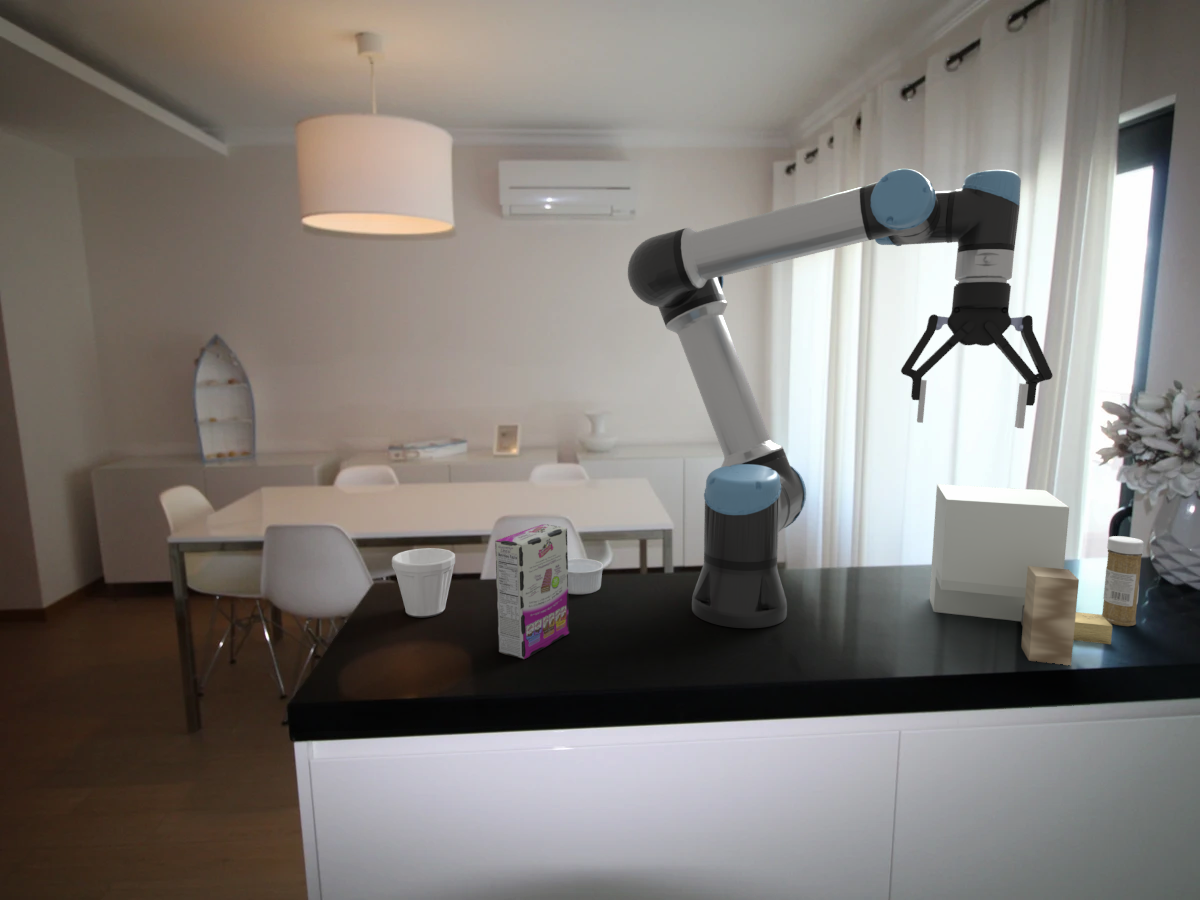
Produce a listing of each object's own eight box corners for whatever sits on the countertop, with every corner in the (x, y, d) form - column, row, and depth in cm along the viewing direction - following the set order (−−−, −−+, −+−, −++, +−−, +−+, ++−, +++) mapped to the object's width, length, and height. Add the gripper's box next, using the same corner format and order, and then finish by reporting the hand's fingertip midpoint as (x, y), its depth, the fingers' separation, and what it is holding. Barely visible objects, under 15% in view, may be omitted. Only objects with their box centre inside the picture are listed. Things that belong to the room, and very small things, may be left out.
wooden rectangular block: (1028, 660, 100) (1035, 575, 98) (1007, 622, 114) (1013, 547, 112) (1070, 665, 98) (1078, 579, 96) (1043, 626, 112) (1050, 550, 111)
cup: (381, 612, 117) (379, 556, 116) (433, 597, 125) (432, 544, 123) (416, 627, 111) (414, 569, 109) (469, 611, 118) (468, 555, 117)
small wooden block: (1070, 641, 107) (1072, 621, 107) (1061, 629, 112) (1063, 610, 111) (1110, 645, 105) (1112, 626, 105) (1099, 633, 110) (1101, 614, 110)
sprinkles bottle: (1140, 623, 114) (1149, 539, 112) (1128, 629, 111) (1137, 543, 109) (1107, 614, 117) (1115, 533, 116) (1094, 620, 115) (1102, 537, 113)
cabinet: (938, 626, 112) (946, 499, 109) (929, 598, 125) (936, 484, 122) (1057, 640, 107) (1069, 507, 104) (1035, 609, 120) (1045, 490, 117)
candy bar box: (542, 627, 111) (542, 523, 109) (570, 634, 108) (569, 527, 106) (495, 652, 101) (493, 538, 99) (523, 661, 99) (522, 543, 97)
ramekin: (574, 577, 136) (574, 555, 136) (613, 586, 131) (613, 563, 131) (543, 589, 129) (543, 566, 129) (582, 599, 124) (582, 575, 123)
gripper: (892, 280, 109) (880, 421, 112) (1087, 279, 100) (1069, 432, 103) (891, 284, 115) (881, 417, 118) (1074, 284, 106) (1057, 427, 109)
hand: (968, 424), depth 111 cm, fingers open, 13 cm apart
